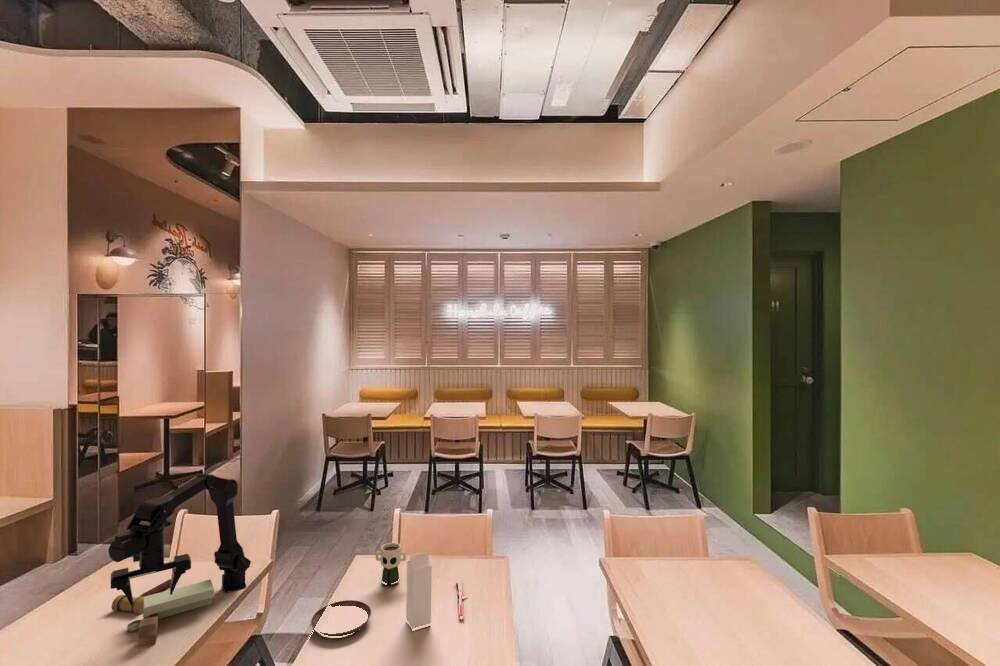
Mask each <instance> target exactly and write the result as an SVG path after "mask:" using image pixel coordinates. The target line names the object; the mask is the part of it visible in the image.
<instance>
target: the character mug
mask: <svg viewBox="0 0 1000 666" xmlns="http://www.w3.org/2000/svg"><path fill="white" fill-rule="evenodd" d="M379 555H380V557H379ZM401 556H402V557H401ZM406 560H407V552H406V551H402V546H401V544H400V543H398V542H387V543H385V544H383V545H381V547H380V551H376V552H375V561H380V565H381V566H382V567H383V569H382V575H381V582H382V581H383V582H385V583H387V584H390V583H394V582H396V581H398V579H399V580H400V573H399V565H400V564H401V562H405V561H406Z"/></svg>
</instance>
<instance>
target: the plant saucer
mask: <svg viewBox="0 0 1000 666" xmlns="http://www.w3.org/2000/svg"><path fill="white" fill-rule="evenodd" d="M329 604H330V605H331V606H332V607H335V606H339V605H340V606H356V607H359V608H362V609H363V610H365V611H366V612H367V614H368V619H367V621H366V622H365V623H363V624H362V625H361V626H359V627H357V628H355V629H353V630H350V631H347V632H343V633H336V634H328V633H322V632H320V633H322V634H324V635H328V636H343V635H347V634H351V633H353V632H356V631H358V630H359V629H361V628H362V627H363V626H364V627H365V625H366V624H367V623H368V622H369V620H370V618H371V616H372V609H371V606H369V604H367V603H366V602H363V601H360V600H351V599H350V600H347V599H346V600H340V601H336V602H332V603H329ZM329 604H327V605H325V606H323V607H322V608H320V609H318V610H317V611H316V612H314V614H313V615H312V617H311V620H310V625H311V628H312V629H313V630H314V628H315V626H316V624H317V622H318V621H319V619H320V617H321V616H322V614H323V612H324V611H325V609H326V607H327V606H328V605H329ZM330 605H329V606H330ZM364 627H363V628H364ZM363 628H362V629H363ZM362 629H361V630H362ZM359 631H360V630H359ZM359 631H358V632H359Z"/></svg>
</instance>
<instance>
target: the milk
mask: <svg viewBox="0 0 1000 666" xmlns="http://www.w3.org/2000/svg"><path fill="white" fill-rule="evenodd" d="M429 553H430V552H429V551H424V552H423V551H422V552H420V553H415V554H412V555H410V556H409V560H408V561H407V562H406V604H405V606H406V607H405V609H406V610H405V615H406V616H405V620H406V619H407V621H408V622H409V624H410V626H411V627H412V629H413V628H416V627H419V626H423V625H426V624H430V623H431V622H432V620H431V619H432V573H433V569H432V567H433V565H432V562H431V560H430V557H429ZM431 624H432V623H431Z"/></svg>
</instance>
